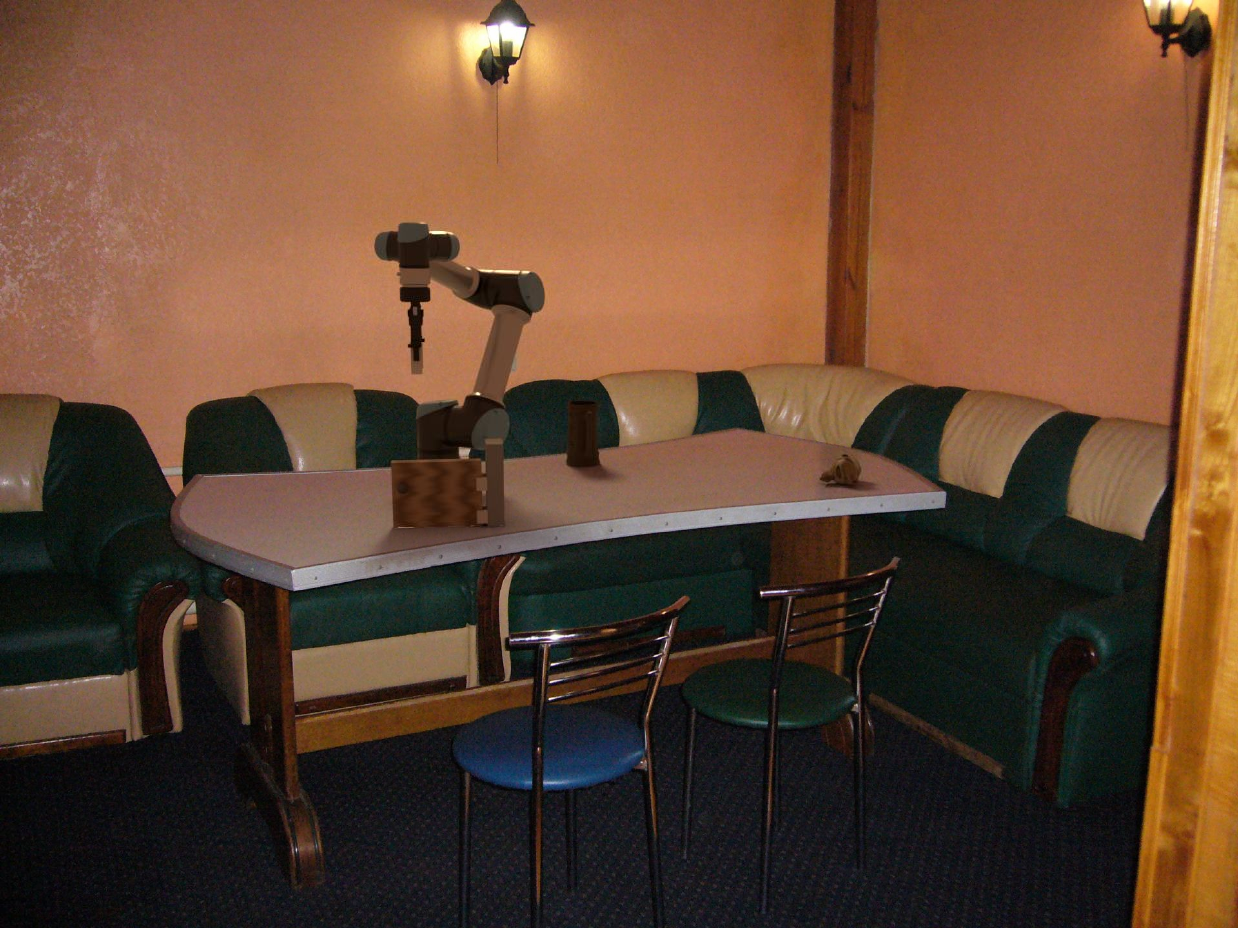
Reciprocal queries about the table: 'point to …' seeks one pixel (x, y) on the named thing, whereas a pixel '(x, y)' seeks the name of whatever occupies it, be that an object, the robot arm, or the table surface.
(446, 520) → the door
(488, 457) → the cabinet side
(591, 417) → the beer stein
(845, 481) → the ceramic sculpture
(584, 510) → the table surface
